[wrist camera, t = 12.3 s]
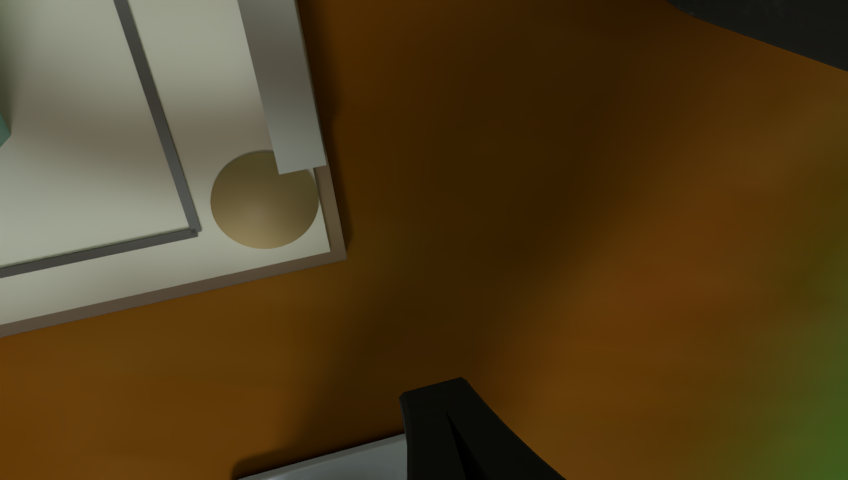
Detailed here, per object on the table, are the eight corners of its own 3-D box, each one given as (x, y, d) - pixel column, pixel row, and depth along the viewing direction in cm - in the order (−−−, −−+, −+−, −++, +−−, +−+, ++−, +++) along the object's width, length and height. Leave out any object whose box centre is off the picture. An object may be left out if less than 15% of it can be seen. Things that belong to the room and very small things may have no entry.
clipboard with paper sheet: (345, 253, 22) (350, 268, 21) (-133, 359, 19) (-149, 382, 18) (259, -183, 15) (261, -187, 15) (-468, -107, 13) (-517, -106, 12)
